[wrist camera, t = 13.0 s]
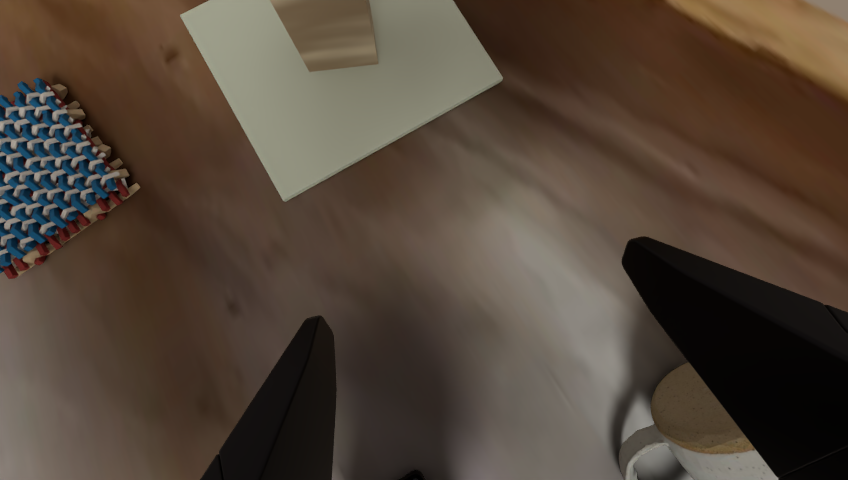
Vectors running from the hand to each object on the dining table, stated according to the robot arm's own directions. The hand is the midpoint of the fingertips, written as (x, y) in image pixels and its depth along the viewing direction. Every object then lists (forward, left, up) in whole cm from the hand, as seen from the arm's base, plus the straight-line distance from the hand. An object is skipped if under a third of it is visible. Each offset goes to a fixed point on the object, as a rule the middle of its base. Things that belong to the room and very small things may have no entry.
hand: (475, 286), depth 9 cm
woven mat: (-21, +20, -13) cm, 32 cm away
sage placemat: (+2, +18, -12) cm, 22 cm away
